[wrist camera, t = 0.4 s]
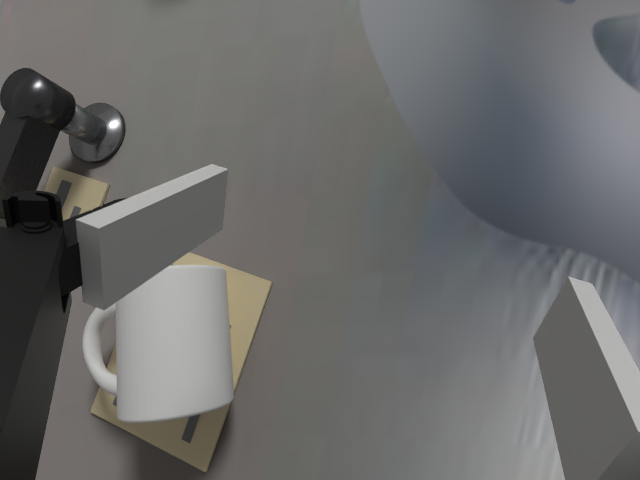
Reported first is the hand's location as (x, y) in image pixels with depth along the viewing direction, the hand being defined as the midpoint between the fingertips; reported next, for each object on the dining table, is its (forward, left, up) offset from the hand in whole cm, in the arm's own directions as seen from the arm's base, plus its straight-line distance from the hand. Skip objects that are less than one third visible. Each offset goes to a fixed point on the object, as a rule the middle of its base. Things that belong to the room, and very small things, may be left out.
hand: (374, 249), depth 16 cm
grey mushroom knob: (+4, +32, -17) cm, 36 cm away
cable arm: (0, +32, -12) cm, 34 cm away
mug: (-11, +15, -17) cm, 25 cm away
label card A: (-5, +32, -17) cm, 37 cm away
